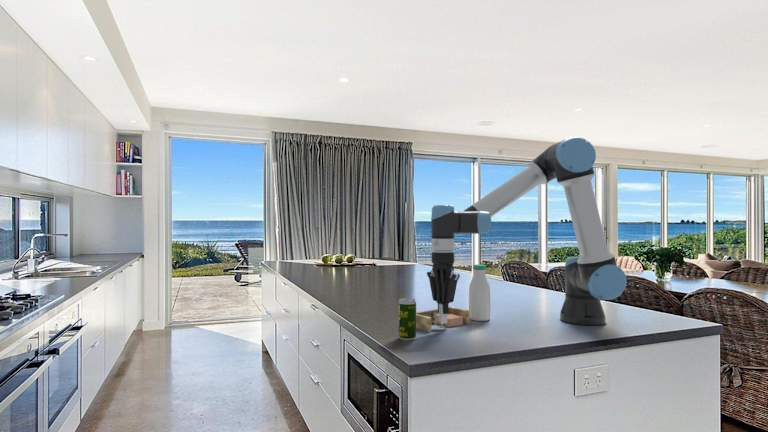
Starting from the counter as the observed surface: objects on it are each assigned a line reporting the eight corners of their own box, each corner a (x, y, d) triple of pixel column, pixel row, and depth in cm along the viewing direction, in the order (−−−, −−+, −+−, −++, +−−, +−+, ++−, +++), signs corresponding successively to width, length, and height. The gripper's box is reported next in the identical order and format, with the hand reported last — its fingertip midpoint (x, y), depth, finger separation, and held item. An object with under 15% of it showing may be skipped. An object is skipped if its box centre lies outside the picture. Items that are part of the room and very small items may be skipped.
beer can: (405, 335, 146) (405, 297, 146) (419, 338, 143) (419, 299, 143) (395, 338, 142) (395, 299, 142) (409, 341, 138) (409, 301, 139)
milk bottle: (490, 322, 165) (490, 266, 165) (468, 321, 167) (468, 265, 167) (490, 317, 173) (490, 264, 173) (469, 316, 174) (469, 263, 174)
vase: (426, 329, 155) (424, 311, 156) (436, 328, 158) (434, 310, 160) (439, 328, 151) (436, 309, 152) (449, 327, 155) (446, 308, 156)
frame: (469, 323, 163) (469, 310, 163) (428, 331, 151) (428, 318, 151) (450, 318, 170) (450, 306, 170) (409, 326, 158) (409, 313, 158)
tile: (462, 325, 161) (462, 317, 161) (449, 327, 158) (449, 319, 158) (451, 322, 166) (451, 313, 166) (438, 324, 163) (438, 315, 163)
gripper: (421, 251, 156) (421, 321, 155) (449, 252, 146) (449, 328, 145) (436, 250, 160) (437, 319, 160) (465, 252, 151) (465, 325, 150)
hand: (443, 323), depth 152 cm, fingers closed
